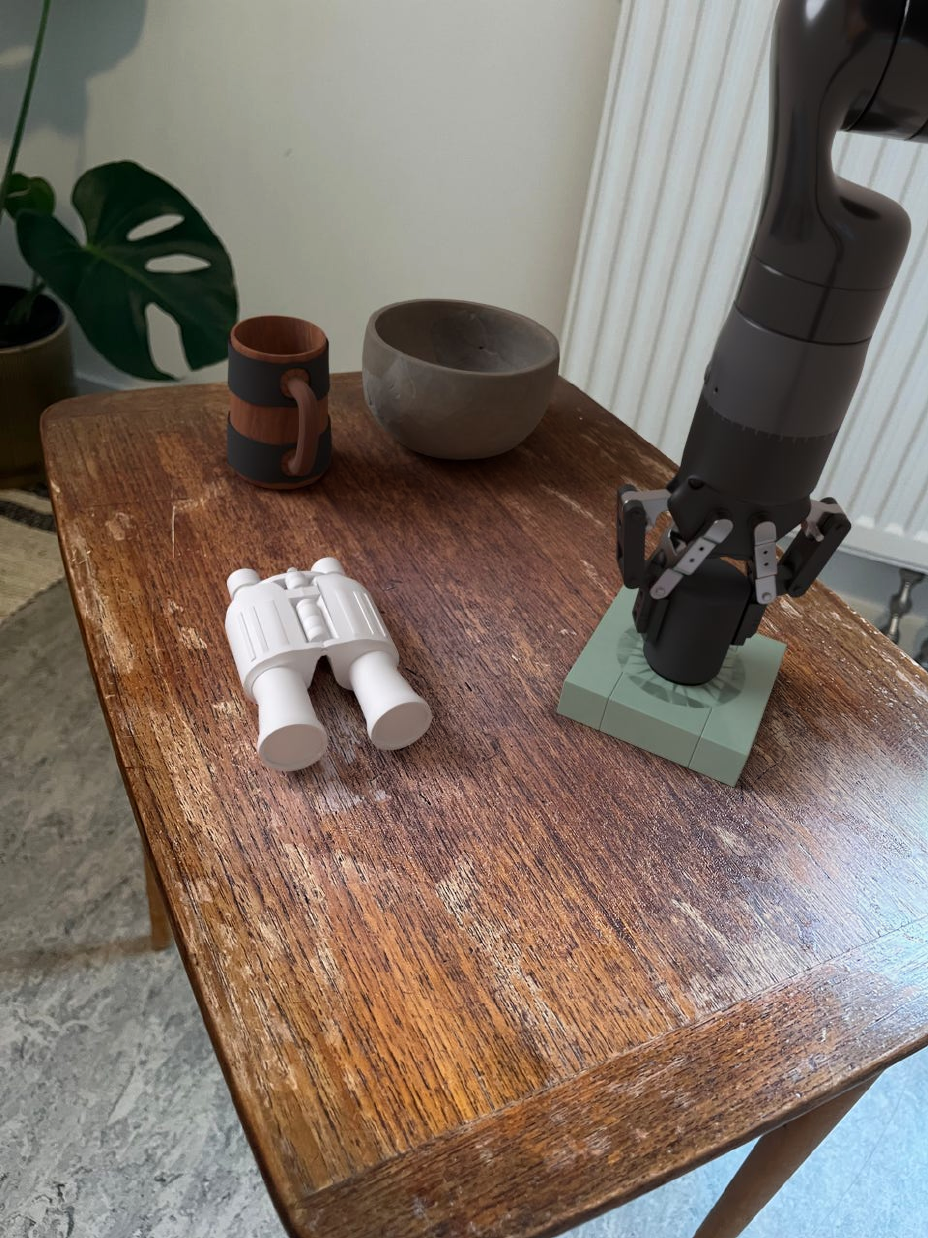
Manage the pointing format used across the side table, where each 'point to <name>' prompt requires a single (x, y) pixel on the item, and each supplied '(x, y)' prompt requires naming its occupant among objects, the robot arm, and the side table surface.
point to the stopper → (699, 623)
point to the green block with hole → (671, 697)
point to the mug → (278, 402)
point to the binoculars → (288, 652)
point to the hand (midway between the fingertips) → (690, 634)
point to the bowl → (457, 376)
